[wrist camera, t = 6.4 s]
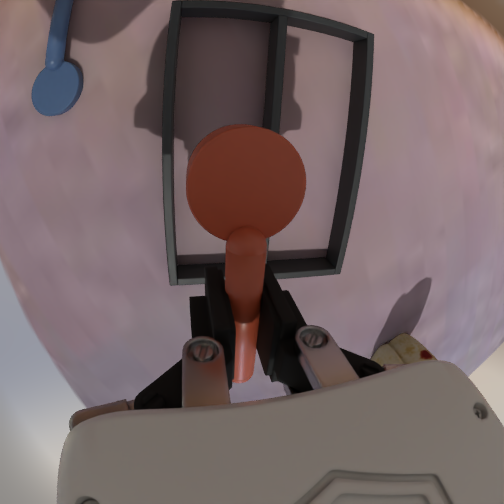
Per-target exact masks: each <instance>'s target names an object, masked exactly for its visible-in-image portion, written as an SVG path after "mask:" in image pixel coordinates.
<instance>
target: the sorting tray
mask: <svg viewBox="0 0 504 504" xmlns="http://www.w3.org/2000/svg"><path fill="white" fill-rule="evenodd" d="M181 16H182V17H217V18H233V19H245V20H254V21H262V22H269V23H270V35H269V49H268V63H267V76H266V90H265V103H264V117H263V128H265V129H269V130H271V131H274V132H276V133H278V134H279V127H280V115H281V103H282V90H283V77H284V63H285V49H286V34H287V26H293V27H298V28H302V29H307V30H311V31H316V32H320V33H324V34H328V35H331V36H335V37H339V38H342V39H345V40H349V41H352V42H354V44H353V64H352V79H351V92H350V103H349V113H348V123H347V132H346V140H345V148H344V156H343V163H342V170H341V177H340V183H339V189H338V196H337V202H336V207H335V213H334V219H333V224H332V230H331V235H330V240H329V245H328V250H327V255H326V258H325V257H324V258H307V259H289V260H271V261H267V256H268V246H269V238H267V239H266V242H267V253H266V263H265V264H269V266H270V268H271V270H272V272H273V274H274V276H275V278H276V279H286V278H299V277H311V276H323V275H334V274H340V272H341V268H342V264H343V260H344V256H345V252H346V247H347V243H348V238H349V234H350V229H351V224H352V220H353V215H354V210H355V204H356V199H357V194H358V188H359V182H360V176H361V170H362V164H363V157H364V150H365V143H366V135H367V127H368V118H369V109H370V98H371V87H372V72H373V53H374V34H372V33H369V32H367V31H364V30H361V29H358V28H355V27H352V26H349V25H346V24H343V23H340V22H337V21H333V20H330V19H326V18H322V17H319V16H315V15H311V14H306V13H302V12H297V11H293V10H288V9H282V8H276V7H270V6H264V5H256V4H248V3H238V2H226V1H202V0H184V1H172V6H171V14H170V21H169V30H168V39H167V49H166V61H165V75H164V93H163V122H162V172H163V203H164V222H165V237H166V250H167V261H168V272H169V282H170V285H171V286H172V285H193V284H205V267H211V266H217V268H218V269H222V271H223V275H224V280H225V263H213V264H192V265H178V266H177V252H176V236H175V215H174V179H173V137H174V102H175V83H176V68H177V55H178V44H179V34H180V24H181Z"/></svg>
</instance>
